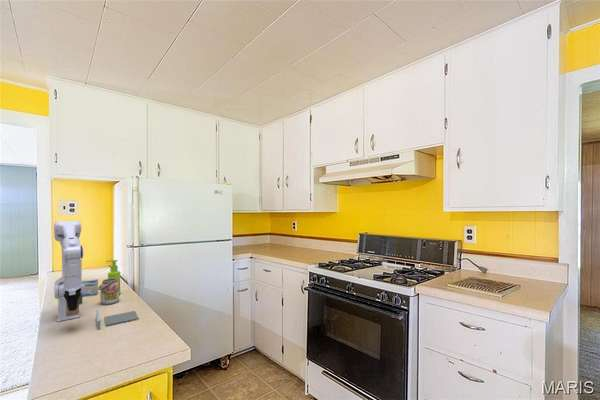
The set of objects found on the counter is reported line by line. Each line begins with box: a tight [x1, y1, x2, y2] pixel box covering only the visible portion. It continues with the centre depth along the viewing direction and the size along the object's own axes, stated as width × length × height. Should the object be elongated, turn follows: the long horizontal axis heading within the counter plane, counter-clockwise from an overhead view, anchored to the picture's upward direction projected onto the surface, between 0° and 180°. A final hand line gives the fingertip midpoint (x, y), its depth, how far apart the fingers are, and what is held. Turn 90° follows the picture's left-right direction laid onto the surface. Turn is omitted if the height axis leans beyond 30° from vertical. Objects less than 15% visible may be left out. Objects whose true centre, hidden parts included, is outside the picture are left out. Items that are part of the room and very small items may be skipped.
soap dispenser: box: [105, 259, 121, 296], centre depth 166 cm, size 6×7×20 cm
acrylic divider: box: [95, 309, 101, 331], centre depth 124 cm, size 16×1×4 cm, turn 36°
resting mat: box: [103, 310, 139, 327], centre depth 129 cm, size 12×12×1 cm
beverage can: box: [98, 278, 120, 306], centre depth 152 cm, size 9×8×12 cm
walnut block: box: [66, 299, 80, 317], centre depth 119 cm, size 4×4×6 cm
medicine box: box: [82, 278, 99, 298], centre depth 168 cm, size 8×4×9 cm, turn 118°
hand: (72, 308), depth 119 cm, fingers closed on walnut block, 4 cm apart
